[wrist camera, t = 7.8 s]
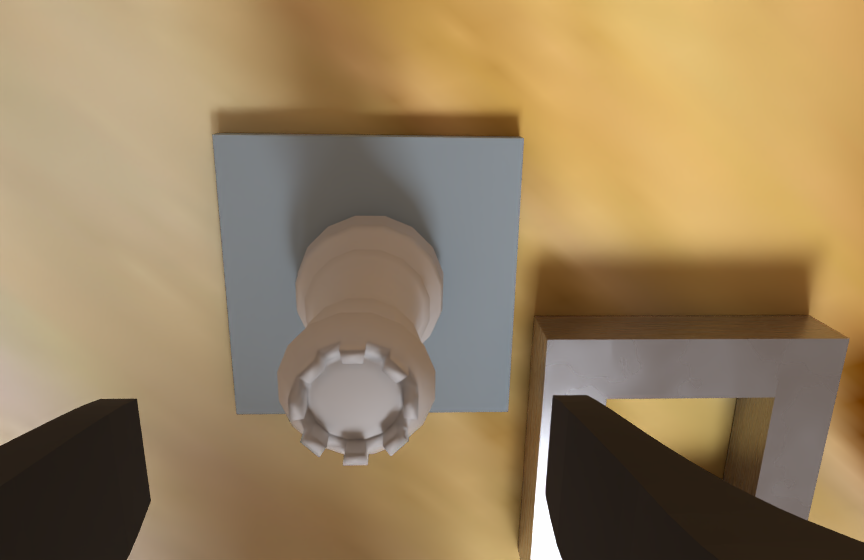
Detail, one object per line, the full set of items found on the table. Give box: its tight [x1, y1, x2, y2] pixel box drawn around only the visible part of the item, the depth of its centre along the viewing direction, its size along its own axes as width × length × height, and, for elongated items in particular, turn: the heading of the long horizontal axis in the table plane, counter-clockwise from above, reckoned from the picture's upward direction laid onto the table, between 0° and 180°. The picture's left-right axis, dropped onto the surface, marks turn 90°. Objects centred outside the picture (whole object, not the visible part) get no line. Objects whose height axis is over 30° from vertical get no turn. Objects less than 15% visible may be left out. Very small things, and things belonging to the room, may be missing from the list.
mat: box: [212, 133, 524, 414], centre depth 20 cm, size 9×9×1 cm
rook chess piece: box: [277, 216, 443, 465], centre depth 16 cm, size 4×4×8 cm
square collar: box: [518, 316, 849, 560], centre depth 22 cm, size 9×9×2 cm
